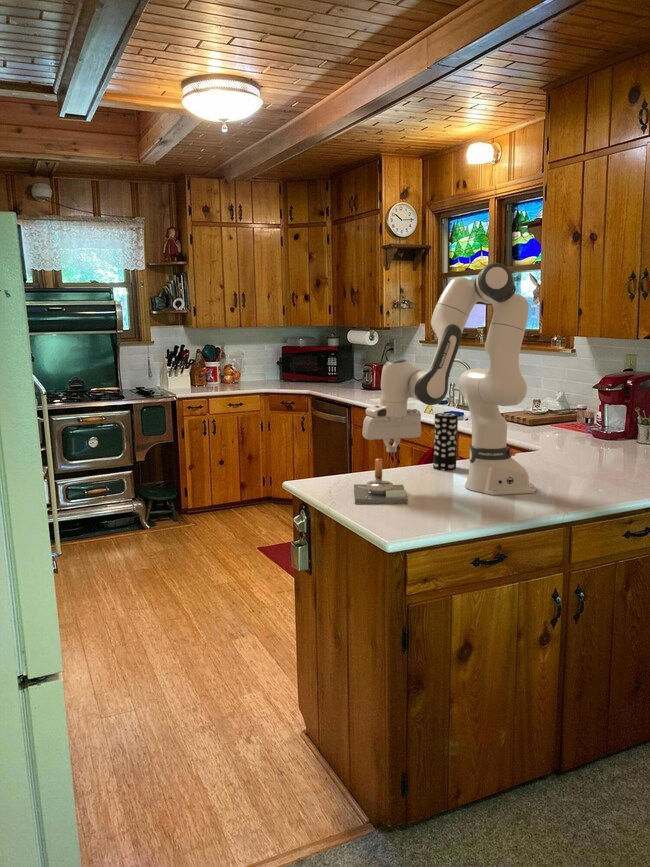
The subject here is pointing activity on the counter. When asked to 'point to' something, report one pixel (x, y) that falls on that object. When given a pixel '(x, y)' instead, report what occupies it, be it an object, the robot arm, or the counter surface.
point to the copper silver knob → (379, 481)
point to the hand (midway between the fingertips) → (391, 451)
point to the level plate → (389, 498)
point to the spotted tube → (445, 441)
